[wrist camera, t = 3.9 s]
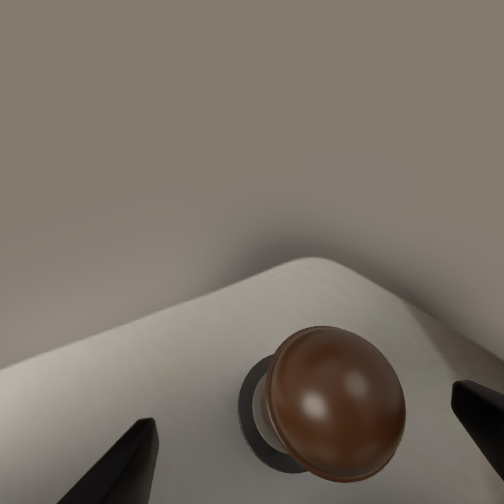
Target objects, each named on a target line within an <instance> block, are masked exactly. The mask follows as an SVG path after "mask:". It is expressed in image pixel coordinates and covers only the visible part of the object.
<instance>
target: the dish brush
mask: <svg viewBox="0 0 504 504" xmlns="http://www.w3.org/2000/svg"><path fill="white" fill-rule="evenodd" d="M238 417H239V423H240V427H241V430H242V433H243V436H244V438H245V440H246V442H247V444H248V446H249V447H250V449H251V450H252V452H253V453H254V454H255V455H256V456H257V457H258V458H259V459H260V460H261V461H262V462H263V463H265V464H266V465H268V466H269V467H271V468H273V469H275V470H277V471H281V472H284V473H292V474H293V473H302V472H307V471H309V472H311V473H312V474H314V475H316V476H319V477H321V478H323V479H326V480H330V481H333V482H341V483H351V482H358V481H362V480H365V479H367V478H370V477H372V476H374V475H375V474H377V473H378V472H379V471H381V470H382V469H383V468H384V467H385V466H386V465H387V464H388V463H389V461H390V460H391V458H392V457H393V456H394V454H395V452H396V450H397V448H398V446H399V444H400V442H401V439H402V436H403V433H404V428H405V422H406V407H405V400H404V395H403V391H402V388H401V384H400V382H399V379H398V377H397V375H396V373H395V371H394V370H393V368H392V366H391V365H390V363H389V362H388V360H387V359H386V358H385V357H384V356H383V354H382V353H381V352H380V351H379V350H378V349H377V348H376V347H375V346H373V345H372V344H371V343H370V342H368V341H367V340H365V339H364V338H362V337H360V336H359V335H357V334H354V333H352V332H349V331H346V330H343V329H340V328H335V327H330V326H314V327H309V328H306V329H303V330H300V331H298V332H296V333H294V334H293V335H291V336H290V337H288V338H287V339H286V340H285V341H284V342H283V343H282V344H281V345H280V346H279V348H278V349H277V350H276V352H275V354H273V355H270V356H268V357H266V358H264V359H262V360H261V361H259V362H258V363H257V364H256V365H255V366H254V367H253V368H252V369H251V370H250V371H249V373H248V374H247V376H246V378H245V380H244V382H243V384H242V387H241V390H240V394H239V400H238Z"/></svg>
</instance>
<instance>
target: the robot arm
mask: <svg viewBox="0 0 504 504" xmlns="http://www.w3.org/2000/svg"><path fill="white" fill-rule="evenodd" d="M451 407H452V410H453V412H454V414H455V415H456V417H457V418H458V419H459V421H460V422H461V424H462V425H463V426H464V428H465V429H466V431H467V432H468V433H469V435H470V436H471V438H472V439H473V440H474V442H475V443H476V445H477V446H478V447H479V449H480V450H481V452H482V453H483V454H484V456H485V457H486V459H487V460H488V461H489V463H490V464H491V465H492V467H493V468H494V469H495V471H496V472H497V473H498V475H499V476H500V477H501V478H502V480H503V481H504V395H503V394H501V393H499V392H496V391H494V390H492V389H489V388H487V387H484V386H482V385H480V384H477V383H475V382H473V381H470V380H462V381H456V382H454V383H453V386H452V396H451ZM158 450H159V438H158V433H157V428H156V423H155V420H154V418H152V417H150V418H142V419H139V420H137V421H136V422H135V423H134V424H133V425H132V426H131V427H130V428H129V430H128V431H127V432H126V433H125V434H124V435H123V436H122V437H121V438H120V439H119V440H118V441H117V442H116V443H115V444H114V445H113V446H112V447H111V448H110V449H109V450H108V451H107V452H106V453H105V454H104V455H103V456H102V457H101V458H100V459H99V460H98V461H97V462H96V463H95V464H94V465H93V467H92V468H91V469H90V470H89V471H88V472H87V473H86V474H85V475H84V476H83V477H82V478H81V479H80V480H79V481H78V482H77V483H76V484H75V485H74V486H73V487H72V488H71V489H70V490H69V491H68V492H67V493H66V494H65V495H64V496H63V497H62V498H61V499H60V500H59V501H58V503H57V504H148V500H149V495H150V490H151V485H152V480H153V475H154V470H155V465H156V460H157V455H158Z"/></svg>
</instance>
